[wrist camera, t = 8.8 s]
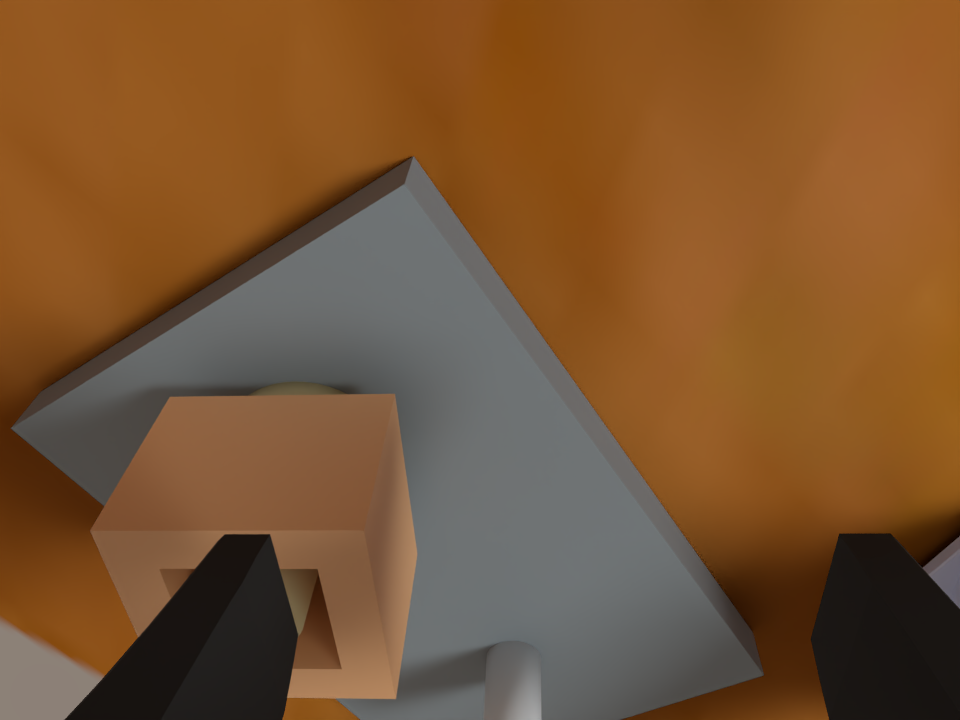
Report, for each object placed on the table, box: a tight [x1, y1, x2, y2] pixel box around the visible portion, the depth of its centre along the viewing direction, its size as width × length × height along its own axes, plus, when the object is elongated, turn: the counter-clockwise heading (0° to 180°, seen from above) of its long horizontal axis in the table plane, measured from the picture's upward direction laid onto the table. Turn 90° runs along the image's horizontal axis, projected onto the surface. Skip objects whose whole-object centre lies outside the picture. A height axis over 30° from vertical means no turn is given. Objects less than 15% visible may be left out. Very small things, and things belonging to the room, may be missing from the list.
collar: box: [90, 394, 417, 699], centre depth 18 cm, size 5×5×4 cm
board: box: [11, 156, 764, 720], centre depth 21 cm, size 18×12×6 cm, turn 33°
